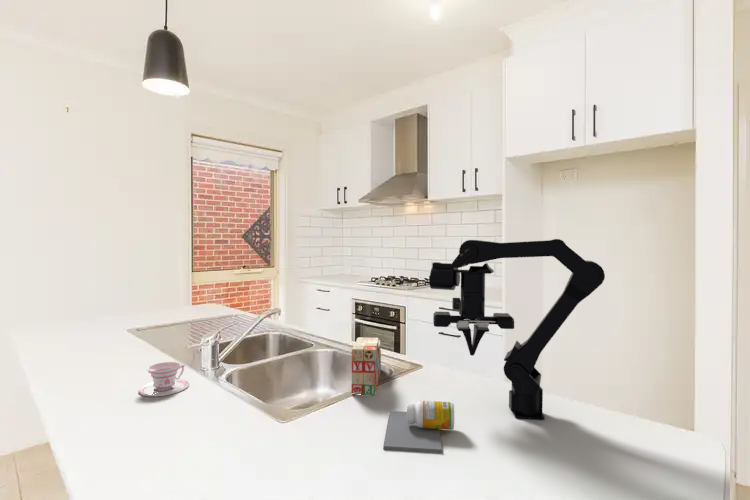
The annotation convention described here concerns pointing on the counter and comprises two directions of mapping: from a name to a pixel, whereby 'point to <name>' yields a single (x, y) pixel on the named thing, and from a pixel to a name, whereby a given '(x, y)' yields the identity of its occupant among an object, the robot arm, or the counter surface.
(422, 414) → the supplement bottle
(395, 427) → the charcoal mat
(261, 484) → the counter surface
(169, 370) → the teacup
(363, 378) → the stack of blocks
